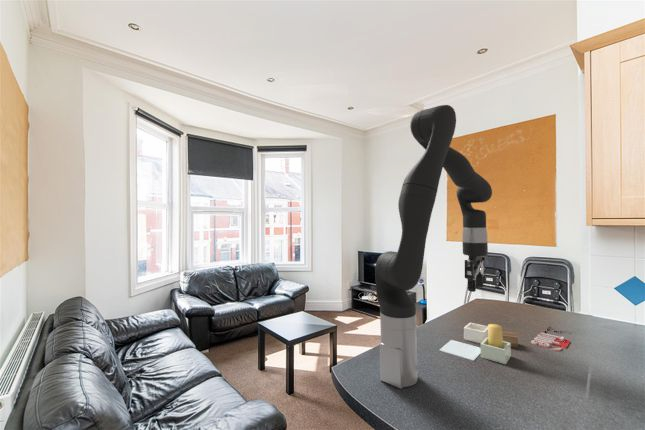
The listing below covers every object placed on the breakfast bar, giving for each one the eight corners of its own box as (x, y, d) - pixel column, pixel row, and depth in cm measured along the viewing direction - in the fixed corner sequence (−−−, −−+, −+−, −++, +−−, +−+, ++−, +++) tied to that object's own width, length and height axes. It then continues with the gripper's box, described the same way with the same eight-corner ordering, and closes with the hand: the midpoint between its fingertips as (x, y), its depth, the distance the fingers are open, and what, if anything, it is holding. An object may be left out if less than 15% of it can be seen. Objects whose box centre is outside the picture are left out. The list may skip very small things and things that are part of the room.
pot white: (484, 346, 95) (484, 332, 95) (464, 340, 99) (463, 327, 99) (490, 340, 99) (490, 326, 99) (470, 335, 104) (469, 322, 104)
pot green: (505, 366, 82) (505, 350, 82) (480, 359, 86) (480, 343, 86) (511, 358, 86) (510, 342, 86) (487, 351, 91) (486, 337, 91)
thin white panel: (473, 363, 84) (473, 360, 84) (439, 352, 91) (439, 349, 91) (484, 351, 91) (483, 348, 91) (451, 342, 98) (451, 339, 98)
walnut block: (517, 350, 92) (517, 337, 92) (503, 348, 93) (502, 335, 93) (515, 345, 95) (515, 332, 95) (501, 343, 97) (500, 331, 97)
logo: (544, 322, 111) (578, 329, 104) (544, 326, 111) (579, 334, 103) (521, 340, 95) (560, 351, 88) (522, 346, 95) (560, 356, 88)
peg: (501, 360, 84) (500, 329, 84) (487, 356, 86) (486, 326, 86) (504, 356, 86) (503, 325, 87) (490, 352, 89) (489, 323, 89)
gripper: (480, 242, 91) (481, 295, 91) (492, 240, 101) (493, 286, 101) (455, 241, 96) (456, 291, 96) (469, 239, 106) (470, 283, 106)
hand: (475, 288), depth 98 cm, fingers open, 8 cm apart
